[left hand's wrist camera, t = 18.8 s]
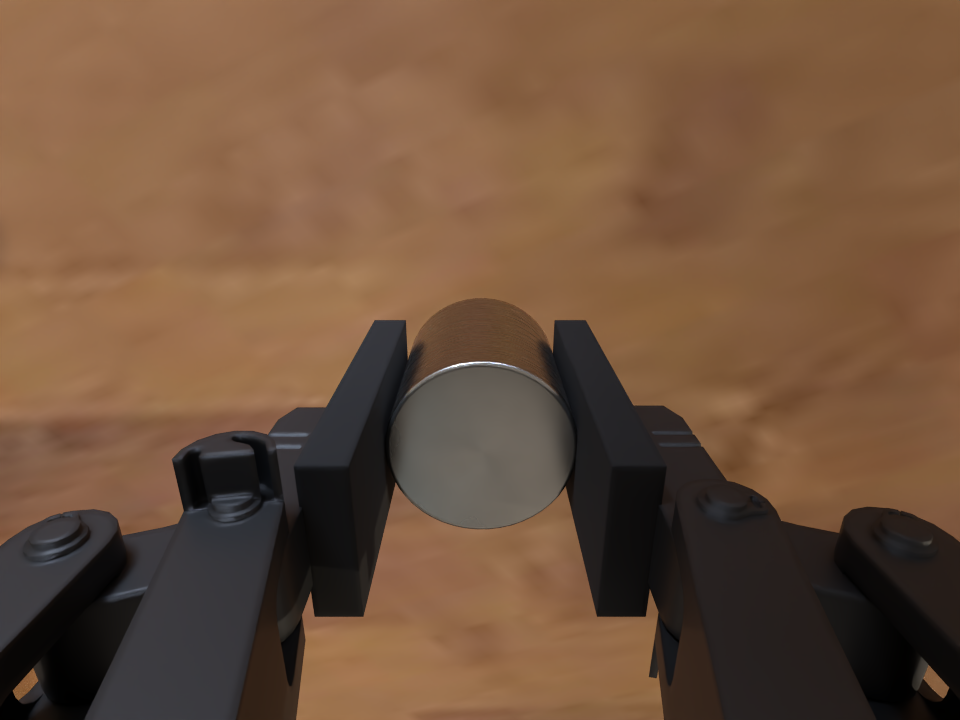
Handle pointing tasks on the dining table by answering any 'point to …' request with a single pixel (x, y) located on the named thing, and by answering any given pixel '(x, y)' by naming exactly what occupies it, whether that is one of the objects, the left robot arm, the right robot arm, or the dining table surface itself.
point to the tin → (481, 418)
